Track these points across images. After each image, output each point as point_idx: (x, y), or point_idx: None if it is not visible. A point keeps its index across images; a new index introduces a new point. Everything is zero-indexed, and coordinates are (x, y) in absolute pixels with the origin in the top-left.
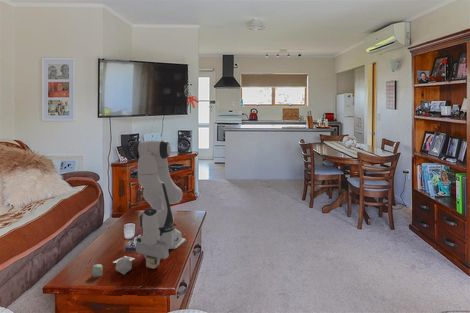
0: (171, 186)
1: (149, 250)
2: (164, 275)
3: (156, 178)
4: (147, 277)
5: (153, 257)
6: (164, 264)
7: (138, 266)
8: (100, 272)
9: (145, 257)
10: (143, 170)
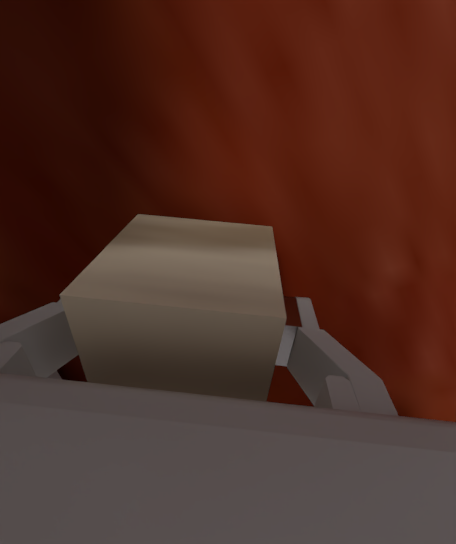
0: None
1: None
2: (409, 347)
3: None
4: (270, 400)
5: (198, 379)
6: (289, 82)
7: (31, 269)
8: None
9: (48, 373)
10: None
